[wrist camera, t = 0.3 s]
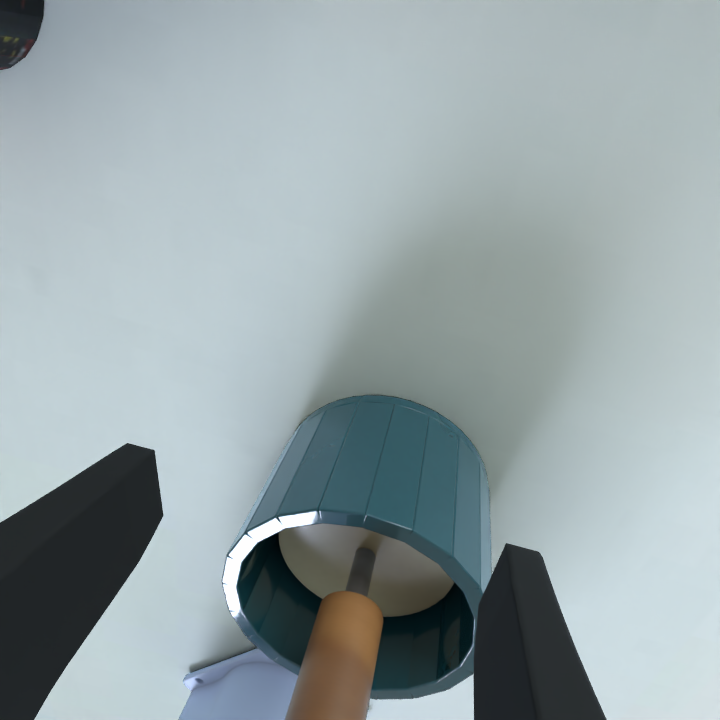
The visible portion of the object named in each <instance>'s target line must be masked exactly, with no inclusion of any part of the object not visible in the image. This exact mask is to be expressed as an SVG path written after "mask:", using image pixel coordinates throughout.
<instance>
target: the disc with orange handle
mask: <svg viewBox="0 0 720 720" xmlns="http://www.w3.org/2000/svg"><path fill="white" fill-rule="evenodd" d="M278 534H279V545H280V549H281V553H282V555H283V558H284V560H285V562H286V564H287V566H288V567H289V569H290V570H291V571H292V573H293V574H294V576H295V577H296V578H297V579H298V580H299V581H300V582H301V583H302V584H303V585H304V586H305V587H306V588H308V589H309V590H310V591H311V592H313V593H314V594H316V595H317V596H319V597H320V598H322V599H323V600H322V601H321V603H320V606H319V610H318V613H317V616H316V619H315V623H314V626H313V629H312V632H311V636H310V639H309V642H308V645H307V649H306V652H305V655H304V658H303V662H302V665H301V668H300V672H299V675H298V678H297V681H296V685H295V688H294V691H293V694H292V698H291V701H290V704H289V707H288V711H287V714H286V717H285V720H366V717H367V711H368V706H369V700H370V694H371V689H372V683H373V677H374V672H375V666H376V661H377V655H378V649H379V644H380V638H381V632H382V627H383V617H394V616H404V615H409V614H413V613H417V612H420V611H422V610H425V609H427V608H429V607H431V606H433V605H434V604H436V603H438V602H439V601H440V600H441V599H442V598H444V597H445V595H446V594H447V593H448V592H449V591H450V589H451V588H452V586H453V585H454V583H455V582H454V581H453V580H452V579H451V578H450V577H449V576H448V575H447V573H446V572H445V571H444V570H443V569H442V568H441V567H440V566H439V565H438V564H437V563H436V562H434V561H433V560H431V559H430V558H428V557H426V556H425V555H423V554H422V553H420V552H419V551H417V550H415V549H414V548H412V547H411V546H409V545H408V544H406V543H404V542H401V541H399V540H396V539H393V538H390V537H387V536H384V535H381V534H379V533H376V532H373V531H370V530H367V529H364V528H360V527H351V526H341V525H332V524H323V523H322V524H315V525H308V526H302V527H295V528H288V529H285V530H283V531H281V532H279V533H278Z"/></svg>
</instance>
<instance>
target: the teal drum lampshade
mask: <svg viewBox="0 0 720 720" xmlns="http://www.w3.org/2000/svg"><path fill="white" fill-rule="evenodd" d="M322 523H323V524H332V525H341V526H351V527H360V528H364V529H367V530H370V531H373V532H376V533H379V534H381V535H384V536H387V537H390V538H393V539H396V540H399V541H401V542H404V543H406V544H408V545H409V546H411V547H412V548H414V549H415V550H417V551H419V552H420V553H422V554H423V555H425V556H426V557H428V558H430V559H431V560H433V561H434V562H436V563H437V564H438V565H439V566H440V567H441V568H442V569H443V570H444V571H445V572H446V573H447V575H448V576H449V577H450V578H451V579H452V580H453V581H454V582H455V583H454V585H453V586H452V588H451V589H450V591H449V592H448V593H447V594H446V595H445V597H444V598H442V599H441V600H440V601H439V602H438V603H436V604H434V605H433V606H431V607H429V608H427V609H425V610H422V611H420V612H417V613H413V614H409V615H404V616H394V617H383V627H382V632H381V638H380V644H379V649H378V655H377V661H376V666H375V672H374V677H373V683H372V689H371V694H370V698H371V699H376V700H377V699H413V698H419V697H423V696H427V695H431V694H435V693H438V692H442V691H446V690H449V689H451V688H452V687H454V686H455V685H457V684H458V683H460V682H462V681H463V680H465V679H466V678H468V677H469V676H471V675H473V673H474V649H475V638H476V627H477V617H478V607H479V602H480V600H481V598H482V596H483V593H484V591H485V589H486V587H487V585H488V582H489V580H490V578H491V576H492V565H491V530H490V496H489V486H488V480H487V473H486V470H485V467H484V464H483V461H482V459H481V457H480V455H479V453H478V451H477V450H476V448H475V447H474V445H473V444H472V442H471V441H470V440H469V438H468V437H467V436H466V435H465V434H464V433H463V432H462V431H461V430H460V429H459V428H458V427H457V426H455V425H454V424H453V423H452V422H451V421H450V420H448V419H446V418H445V417H443V416H442V415H440V414H439V413H437V412H435V411H433V410H431V409H429V408H427V407H425V406H423V405H420V404H418V403H415V402H412V401H409V400H405V399H401V398H397V397H390V396H382V395H364V396H354V397H349V398H345V399H340V400H338V401H335V402H332V403H329V404H327V405H325V406H323V407H322V408H320V409H318V410H316V411H315V412H313V413H312V414H311V415H309V416H308V417H307V418H306V419H305V420H304V421H303V422H302V423H301V424H300V425H299V427H298V428H297V429H296V431H295V432H294V434H293V435H292V437H291V439H290V440H289V442H288V443H287V445H286V446H285V448H284V450H283V452H282V454H281V455H280V457H279V459H278V461H277V463H276V465H275V466H274V468H273V470H272V472H271V474H270V476H269V478H268V479H267V481H266V483H265V485H264V487H263V489H262V490H261V492H260V494H259V496H258V498H257V500H256V502H255V503H254V505H253V507H252V509H251V511H250V513H249V514H248V516H247V518H246V520H245V522H244V524H243V526H242V527H241V529H240V531H239V533H238V535H237V537H236V538H235V540H234V542H233V544H232V546H231V548H230V550H229V551H228V553H227V555H226V560H225V566H224V571H223V576H222V586H223V590H224V594H225V598H226V602H227V606H228V609H229V611H230V613H231V615H232V616H233V618H234V619H235V621H236V622H237V624H238V625H239V627H240V628H241V630H242V631H243V633H244V634H245V636H247V638H248V639H249V640H250V641H251V642H252V643H253V644H254V645H255V646H256V647H257V648H259V649H260V650H261V651H262V652H263V653H264V654H265V655H266V656H267V657H268V658H270V659H271V660H273V661H274V662H275V663H277V664H279V665H280V666H282V667H284V668H285V669H287V670H289V671H290V672H292V673H294V674H296V675H297V676H298V675H299V672H300V668H301V665H302V662H303V658H304V655H305V652H306V649H307V645H308V642H309V639H310V636H311V632H312V629H313V626H314V623H315V619H316V616H317V613H318V610H319V606H320V603H321V601H322V600H323V599H322V598H320V597H319V596H317V595H316V594H314V593H313V592H311V591H310V590H309V589H308V588H306V587H305V586H304V585H303V584H302V583H301V582H300V581H299V580H298V579H297V578H296V577H295V576H294V574H293V573H292V571H291V570H290V569H289V567H288V566H287V564H286V562H285V560H284V558H283V555H282V553H281V549H280V545H279V534H278V533H279V532H281V531H283V530H285V529H288V528H295V527H302V526H308V525H315V524H322Z"/></svg>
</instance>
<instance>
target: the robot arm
mask: <svg viewBox="0 0 720 720" xmlns="http://www.w3.org/2000/svg"><path fill="white" fill-rule="evenodd" d="M162 517H163V510H162V502H161V495H160V488H159V480H158V473H157V466H156V458H155V451H154V450H151V449H148V448H144V447H140V446H136V445H132V444H129V443H127V444H125V445H124V446H122V447H120V448H119V449H117V450H115V451H114V452H112V453H111V454H109V455H107V456H106V457H104V458H103V459H101V460H100V461H98V462H96V463H95V464H93V465H92V466H90V467H89V468H87V469H86V470H84V471H83V472H81V473H79V474H78V475H76V476H75V477H73V478H72V479H70V480H68V481H67V482H65V483H64V484H62V485H61V486H59V487H58V488H56V489H54V490H53V491H51V492H50V493H48V494H46V495H45V496H43V497H41V498H40V499H38V500H37V501H35V502H33V503H32V504H30V505H29V506H27V507H25V508H24V509H22V510H20V511H19V512H17V513H16V514H14V515H12V516H11V517H9V518H7V519H6V520H4V521H2V522H1V523H0V720H34V719H35V717H36V715H37V714H38V712H39V710H40V708H41V707H42V705H43V703H44V701H45V700H46V698H47V696H48V695H49V693H50V691H51V689H52V688H53V686H54V685H55V683H56V682H57V680H58V679H59V677H60V676H61V674H62V672H63V671H64V669H65V668H66V666H67V665H68V663H69V662H70V660H71V659H72V658H73V656H74V655H75V653H76V652H77V650H78V649H79V648H80V646H81V645H82V643H83V642H84V640H85V639H86V638H87V636H88V635H89V633H90V632H91V630H92V629H93V627H94V626H95V625H96V623H97V622H98V620H99V619H100V617H101V616H102V615H103V613H104V612H105V610H106V609H107V607H108V606H109V605H110V603H111V602H112V600H113V599H114V597H115V596H116V594H117V593H118V592H119V590H120V589H121V587H122V586H123V584H124V583H125V581H126V580H127V578H128V577H129V576H130V574H131V573H132V571H133V570H134V568H135V567H136V565H137V564H138V562H139V561H140V559H141V557H142V555H143V553H144V551H145V550H146V548H147V546H148V544H149V542H150V541H151V539H152V537H153V535H154V533H155V531H156V529H157V527H158V525H159V523H160V521H161V519H162ZM297 678H298V676H297V675H296V674H294V673H292V672H290V671H289V670H287V669H285V668H284V667H282V666H280V665H279V664H277V663H275V662H274V661H273V660H271V659H270V658H268V657H267V656H266V655H265V654H264V653H263V652H262V651H261V650H260V649H259V648H256V649H254V650H251V651H248V652H246V653H243V654H240V655H238V656H235V657H232V658H230V659H227V660H224V661H222V662H219V663H216V664H214V665H211V666H208V667H206V668H203V669H200V670H198V671H195V672H192V673H190V674H187V675H186V676H185V678H184V680H183V683H184V685H185V686H186V687H187V688H189V689H190V690H191V691H192V692H191V694H190V696H189V698H188V700H187V702H186V705H185V707H184V709H183V711H182V713H181V715H180V717H179V719H178V720H285V717H286V714H287V711H288V707H289V704H290V701H291V698H292V694H293V691H294V688H295V685H296V681H297ZM474 720H606V717H605V715H604V713H603V711H602V708H601V706H600V704H599V702H598V700H597V697H596V695H595V693H594V690H593V688H592V686H591V683H590V681H589V679H588V676H587V674H586V672H585V669H584V667H583V665H582V662H581V660H580V657H579V655H578V653H577V650H576V648H575V645H574V643H573V640H572V638H571V635H570V633H569V630H568V628H567V625H566V622H565V620H564V617H563V614H562V612H561V609H560V606H559V604H558V601H557V598H556V595H555V593H554V590H553V587H552V584H551V581H550V578H549V575H548V572H547V569H546V566H545V563H544V560H543V557H542V556H541V554H540V553H539V552H537V551H534V550H530V549H526V548H522V547H518V546H515V545H511V544H507V543H506V545H505V547H504V549H503V552H502V554H501V556H500V558H499V560H498V563H497V565H496V567H495V569H494V571H493V574H492V576H491V578H490V580H489V582H488V585H487V587H486V589H485V591H484V593H483V596H482V598H481V600H480V602H479V607H478V617H477V627H476V638H475V649H474Z"/></svg>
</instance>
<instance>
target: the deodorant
mask: <svg viewBox="0 0 720 720" xmlns="http://www.w3.org/2000/svg"><path fill="white" fill-rule="evenodd" d="M42 18H43V0H0V70H3V69H7V68H11V67H12V66H14V65H15V64H16V63H18V62H19V61H20V60H22V59H23V58H25V57H26V55H27V53H28V52H29V50H30V49H31V47H32V46H33V44H34V43H35V41H36V39H37V36H38V32H39V29H40V25H41V22H42Z"/></svg>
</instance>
